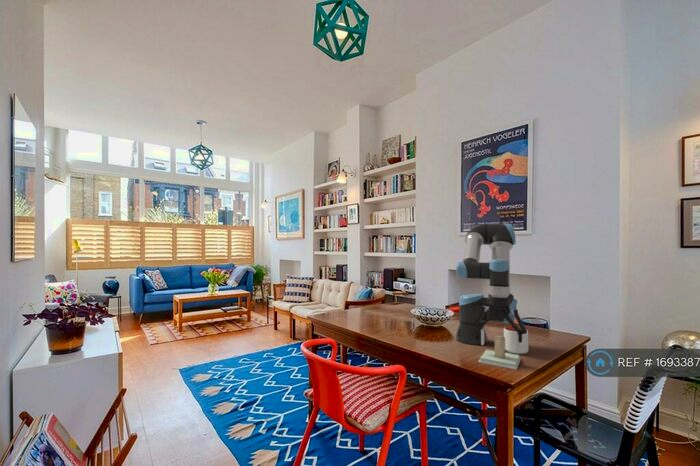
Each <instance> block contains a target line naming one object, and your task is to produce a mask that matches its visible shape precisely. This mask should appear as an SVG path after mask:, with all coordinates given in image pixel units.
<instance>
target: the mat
mask: <svg viewBox="0 0 700 466" xmlns="http://www.w3.org/2000/svg"><path fill="white" fill-rule="evenodd" d="M521 360H522V358H521V357H519V360H518V362H517V365H516V367H510V366H504V365H499V364H494V363H489V362H483V361H480V359H479V360H478V363H479V364H484V365H489V366H495V367H500V368H506V369H511V370H515V371H517V370H518V367H519V364H520V362H521Z"/></svg>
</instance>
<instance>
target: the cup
mask: <svg viewBox="0 0 700 466" xmlns="http://www.w3.org/2000/svg"><path fill="white" fill-rule="evenodd" d="M519 329H520V330H522V329H521V327H519ZM526 330H527V333H526V334H522V342H521V343H520V342H519V351H516V334H517V332H516V330H515V329H514V328H513V327H512V326H505V327H503V337H505V352H507V353H509V354H515V355H524V354H527V353H528V352H529V331H528V329H526Z"/></svg>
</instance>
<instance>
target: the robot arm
mask: <svg viewBox="0 0 700 466" xmlns="http://www.w3.org/2000/svg"><path fill="white" fill-rule="evenodd" d="M464 242H465V243H464V244H465V248H464V250H463V251H464V253H463V257H462V261H458V262H456V272H455V273H456V277H457V278H460V279H473V280H474V279H479V280H489V293H488V297H485V296H484V294H482V293H468V294H463V295H460V297H459V304H458V306H459V307H458V309H459V315H458V316H459V320H458V321H459V323H458V324H459V325H458V327H457V330H456V333H455V340H456V341H457V342H460V343H463V344H466V345H467V344H468V345H480V346H484V345H486V344H488V341H489V339H488V335H487V331H486V328H485V327H484V326H485V325H486V324H487V323H488V322H493V323H503V324H510V327H513V328H514V329H515V330H516V332H517V334H516V351H519V342H520V343H521V342H522V334H526V333H527V330H528V329H526V326H525V325H524V322H523V320H522V318H521V317H520V315H519V310H518V308H517V307H518V305H517V304H518V299H515V295H514V294H513V293H512V292H511V259H510V258H511V256H510V254H511V253H510V252H511V250H512V249H513V246H514V245H516V233H515V229H514V226H513V224H511V223H481V224H480V223H479V224H477V225H475V226H473V227H472V228H471V229H469V231H467V232H466V235H465V236H464ZM484 245H486V246H487V245H488V248H489V249H490V250H491V259H490V260H489V262H482V261H481V262H480V257H481V249H482V246H484ZM515 321H516V322H517V323H518V325H519V326H518V325H517V324H516V322H515ZM519 328H521V329H522V330H520V329H519Z"/></svg>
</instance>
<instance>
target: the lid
mask: <svg viewBox="0 0 700 466" xmlns="http://www.w3.org/2000/svg"><path fill="white" fill-rule="evenodd" d="M519 358H520V354H515V353H510V352H506V350H505V337H504V336H502V335H495V336H494V350H490V349H485V351H484V352H483V353H482V355H481V356H480V358H479V360H480V361H483V362H489V363H494V364H499V365H504V366H510V367H516V365H517V362H518V360H519Z"/></svg>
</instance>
